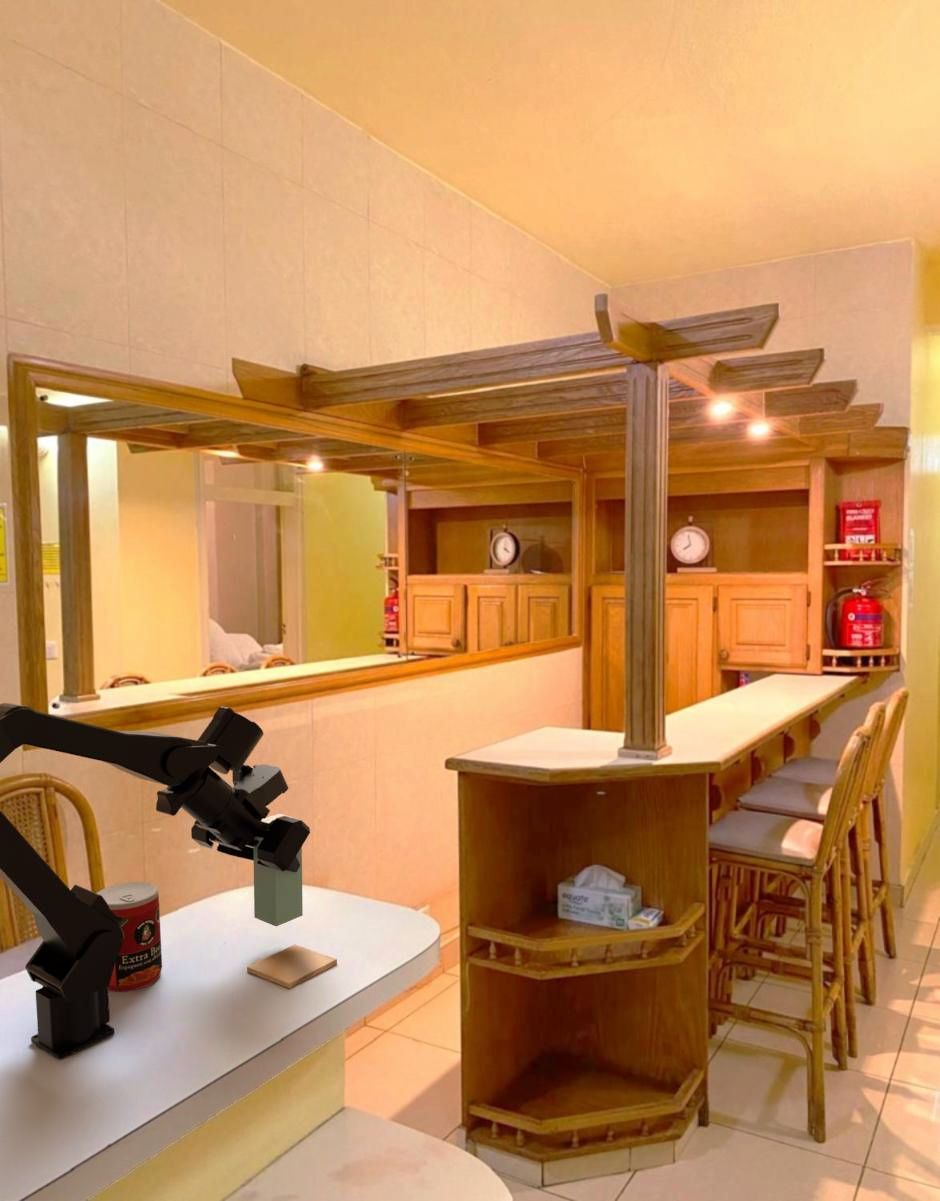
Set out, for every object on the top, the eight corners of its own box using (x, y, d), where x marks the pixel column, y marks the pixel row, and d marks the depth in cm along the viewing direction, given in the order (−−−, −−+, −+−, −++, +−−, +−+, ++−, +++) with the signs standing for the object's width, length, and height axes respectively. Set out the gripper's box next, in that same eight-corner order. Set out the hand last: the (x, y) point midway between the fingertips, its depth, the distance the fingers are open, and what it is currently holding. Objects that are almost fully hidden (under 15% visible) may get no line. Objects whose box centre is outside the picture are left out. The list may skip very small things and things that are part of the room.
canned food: (121, 998, 110) (116, 909, 110) (85, 981, 115) (80, 895, 114) (175, 974, 116) (171, 889, 116) (139, 958, 121) (135, 877, 121)
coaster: (289, 988, 112) (289, 983, 111) (247, 971, 116) (246, 966, 116) (337, 963, 118) (336, 959, 118) (295, 948, 123) (294, 944, 123)
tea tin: (276, 927, 120) (274, 828, 119) (253, 917, 123) (251, 821, 122) (303, 915, 124) (302, 820, 123) (281, 906, 127) (279, 813, 126)
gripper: (295, 758, 113) (363, 825, 122) (207, 741, 125) (274, 803, 134) (244, 837, 107) (320, 901, 116) (157, 811, 119) (231, 871, 128)
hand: (286, 865), depth 124 cm, fingers closed on tea tin, 5 cm apart
